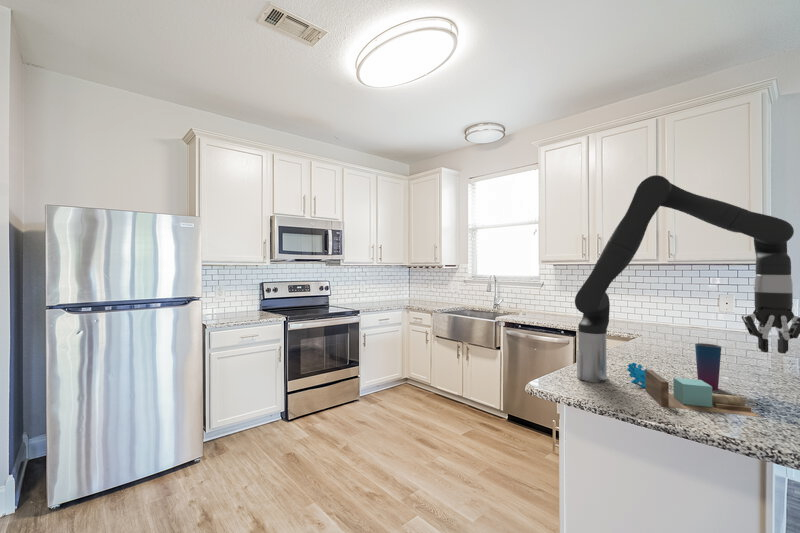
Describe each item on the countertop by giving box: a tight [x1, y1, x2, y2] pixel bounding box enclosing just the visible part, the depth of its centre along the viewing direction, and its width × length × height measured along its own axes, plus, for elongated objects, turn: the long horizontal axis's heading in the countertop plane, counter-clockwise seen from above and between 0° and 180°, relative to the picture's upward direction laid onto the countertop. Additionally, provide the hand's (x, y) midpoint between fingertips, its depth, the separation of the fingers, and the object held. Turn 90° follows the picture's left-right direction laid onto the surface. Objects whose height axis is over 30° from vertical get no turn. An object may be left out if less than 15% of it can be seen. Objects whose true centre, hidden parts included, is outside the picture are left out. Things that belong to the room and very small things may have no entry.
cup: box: [694, 342, 722, 391], centre depth 123 cm, size 7×7×15 cm
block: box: [672, 377, 713, 407], centre depth 109 cm, size 7×7×6 cm
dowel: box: [712, 393, 746, 406], centre depth 106 cm, size 8×3×3 cm, turn 72°
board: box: [644, 369, 762, 418], centre depth 108 cm, size 23×14×8 cm, turn 72°
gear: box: [626, 362, 648, 389], centre depth 127 cm, size 11×6×10 cm
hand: (773, 352), depth 103 cm, fingers open, 3 cm apart
